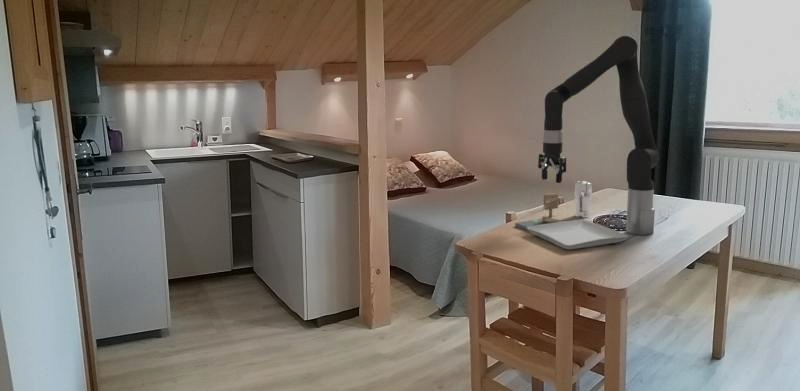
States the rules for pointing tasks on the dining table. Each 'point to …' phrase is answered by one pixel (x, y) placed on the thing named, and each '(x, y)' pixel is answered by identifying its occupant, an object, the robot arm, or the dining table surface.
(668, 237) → the dining table surface
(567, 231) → the square plate
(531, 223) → the tuning board
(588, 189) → the beer glass
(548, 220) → the knob
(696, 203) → the dining table surface
